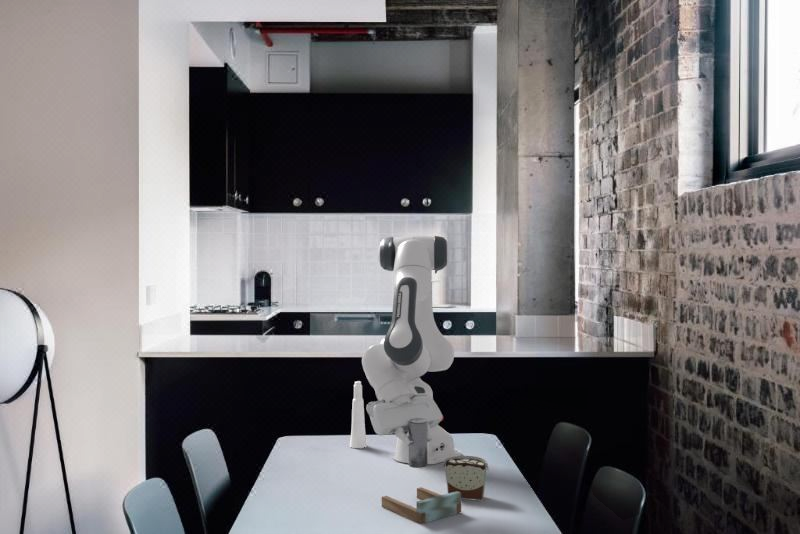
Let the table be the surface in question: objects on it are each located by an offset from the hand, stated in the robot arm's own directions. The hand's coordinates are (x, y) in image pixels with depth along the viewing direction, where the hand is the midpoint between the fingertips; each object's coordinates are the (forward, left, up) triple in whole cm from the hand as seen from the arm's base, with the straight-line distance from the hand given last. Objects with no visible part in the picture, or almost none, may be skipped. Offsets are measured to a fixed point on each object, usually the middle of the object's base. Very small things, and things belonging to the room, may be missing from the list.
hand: (419, 442), depth 188 cm
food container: (-17, -1, -17) cm, 24 cm away
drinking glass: (0, -1, -6) cm, 6 cm away
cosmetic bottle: (-23, -63, -17) cm, 69 cm away
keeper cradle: (0, 0, -17) cm, 17 cm away
